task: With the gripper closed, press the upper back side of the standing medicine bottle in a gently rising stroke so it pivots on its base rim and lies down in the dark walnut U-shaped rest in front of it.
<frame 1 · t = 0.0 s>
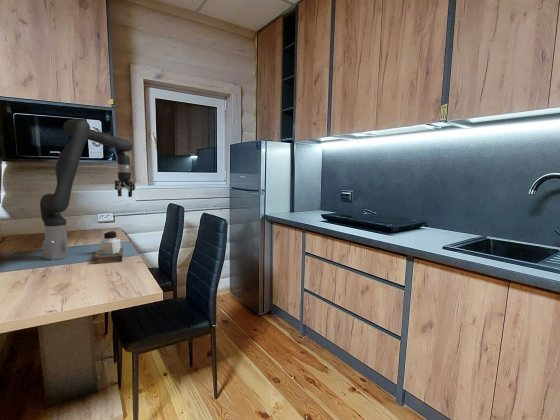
hand: (125, 196, 195), 29 cm above the table, tool pointing down, fingers open, 8 cm apart
u rest: (109, 257, 157), on the table
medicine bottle: (110, 253, 167), on the table
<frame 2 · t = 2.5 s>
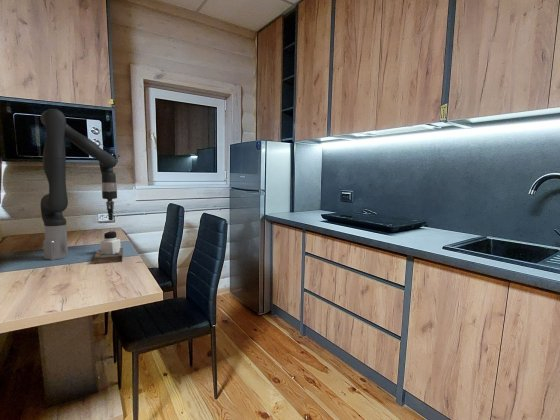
hand: (110, 220, 174), 17 cm above the table, tool pointing down, fingers closed
nothing on the table moved.
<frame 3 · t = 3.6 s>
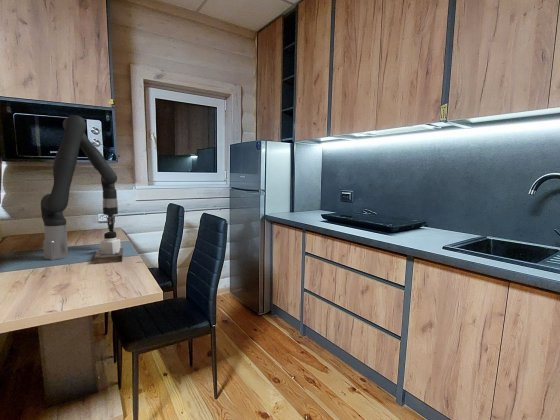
hand: (111, 235, 174), 8 cm above the table, tool pointing down, fingers closed
nothing on the table moved.
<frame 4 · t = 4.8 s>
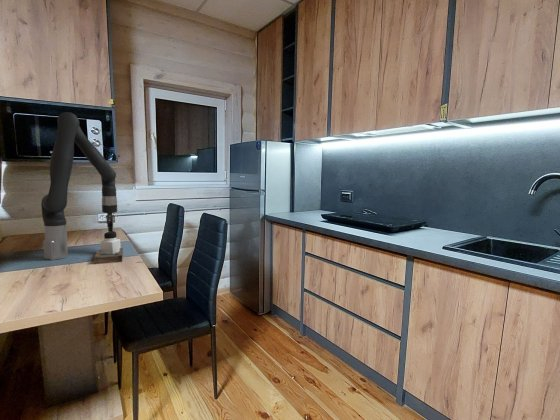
hand: (110, 234, 170), 10 cm above the table, tool pointing down, fingers closed
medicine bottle: (110, 253, 167), on the table, touching gripper
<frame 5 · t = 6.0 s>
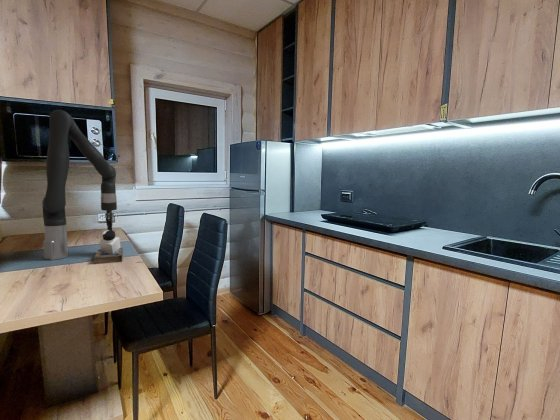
hand: (109, 232, 165), 12 cm above the table, tool pointing down, fingers closed
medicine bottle: (110, 249, 166), point 2 cm above the table
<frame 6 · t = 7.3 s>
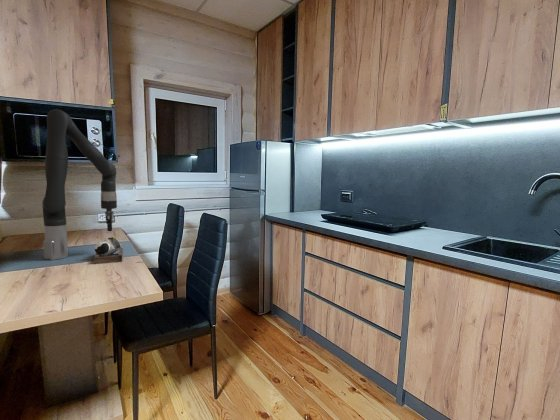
hand: (109, 230, 164), 13 cm above the table, tool pointing down, fingers closed
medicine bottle: (113, 245, 164), point 5 cm above the table, touching u rest
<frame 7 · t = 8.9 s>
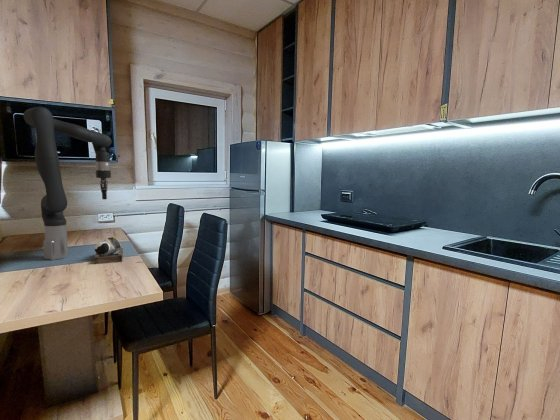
hand: (104, 199, 175), 29 cm above the table, tool pointing down, fingers closed
nothing on the table moved.
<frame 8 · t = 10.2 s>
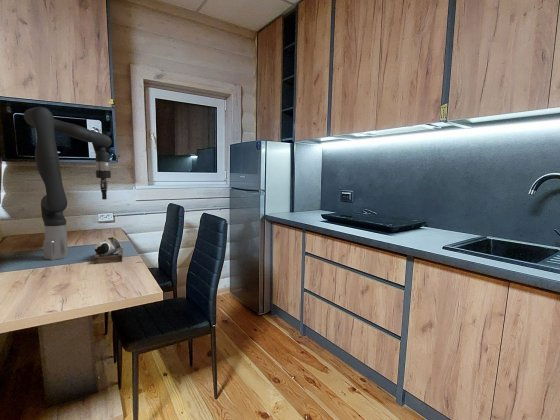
hand: (104, 199, 175), 29 cm above the table, tool pointing down, fingers closed
nothing on the table moved.
at the end: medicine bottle tilted 85°; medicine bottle 7.2 cm from the u rest (horizontally); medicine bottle touching u rest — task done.
